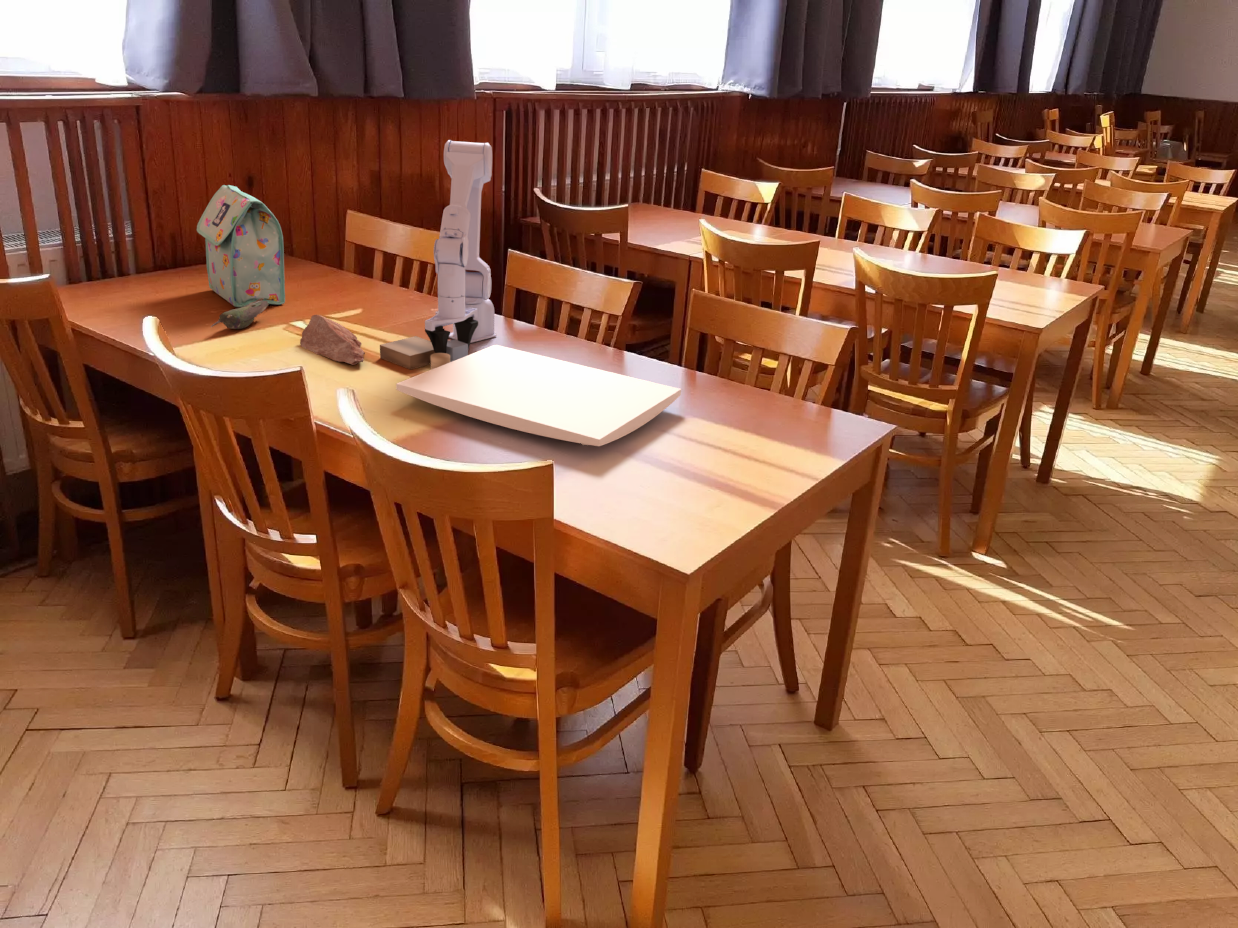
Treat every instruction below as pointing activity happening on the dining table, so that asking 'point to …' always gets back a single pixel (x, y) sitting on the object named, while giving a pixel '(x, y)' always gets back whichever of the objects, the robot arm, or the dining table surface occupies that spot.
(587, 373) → the board
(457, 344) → the grey cube
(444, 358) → the beech cylinder
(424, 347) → the walnut base
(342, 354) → the rock
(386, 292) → the dining table surface
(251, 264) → the lunch bag
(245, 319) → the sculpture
